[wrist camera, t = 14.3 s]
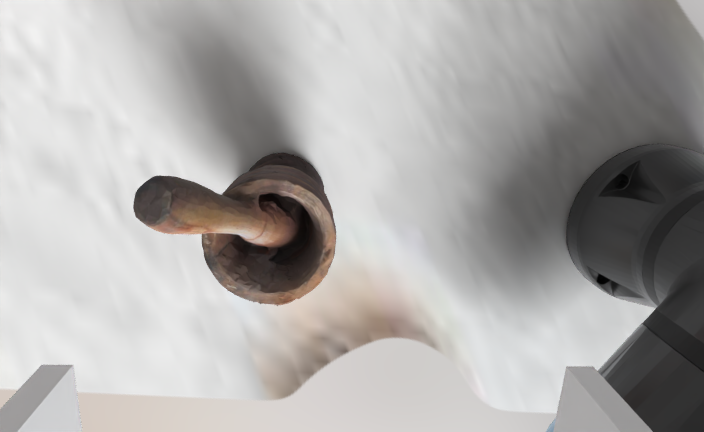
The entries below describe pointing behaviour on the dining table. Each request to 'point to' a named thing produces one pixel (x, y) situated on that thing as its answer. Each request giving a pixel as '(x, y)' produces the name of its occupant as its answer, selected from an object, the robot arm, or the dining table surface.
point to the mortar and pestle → (252, 226)
